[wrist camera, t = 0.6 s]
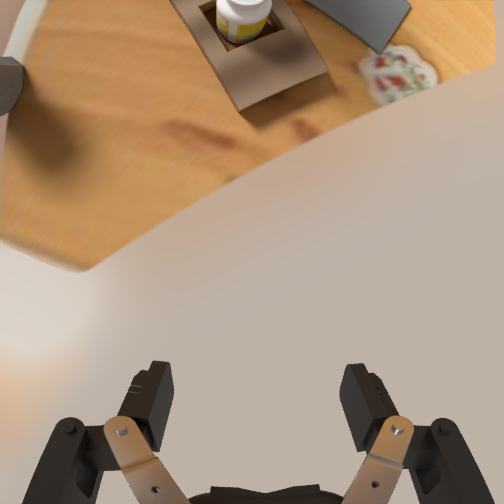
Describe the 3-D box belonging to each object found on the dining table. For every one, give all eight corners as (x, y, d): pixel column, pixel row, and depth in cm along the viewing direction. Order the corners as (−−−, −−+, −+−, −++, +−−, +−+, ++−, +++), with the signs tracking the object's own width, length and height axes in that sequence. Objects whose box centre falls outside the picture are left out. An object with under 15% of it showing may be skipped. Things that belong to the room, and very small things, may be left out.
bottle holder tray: (320, 75, 31) (328, 70, 28) (238, 112, 32) (240, 110, 29) (241, -42, 24) (243, -54, 21) (161, -11, 24) (157, -21, 22)
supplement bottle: (270, 17, 28) (287, -19, 18) (251, 50, 29) (262, 21, 20) (228, 1, 26) (232, -39, 17) (208, 34, 28) (205, 0, 19)
